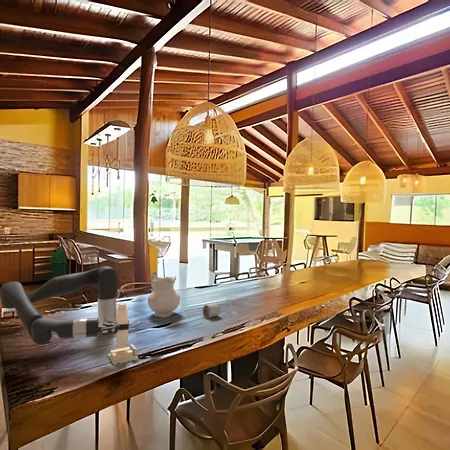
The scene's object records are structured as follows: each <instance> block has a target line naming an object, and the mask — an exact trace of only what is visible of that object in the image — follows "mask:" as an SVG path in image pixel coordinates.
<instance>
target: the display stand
mask: <svg viewBox="0 0 450 450" xmlns="http://www.w3.org/2000/svg"><path fill="white" fill-rule="evenodd" d="M108 356H109V357H108ZM107 357H108V359H109V360H110V359H111V360H110V362H111V361H112V362H111V364H112V365H113V364H116V365H118V364H117V363H120V364H124V363H123V362H125V363H128V361H129V362H132V360H134V361H139V357H138V355H137V347H136V346H135V345H134V344H133V343H131V344H129V346H128V347H126V348H116V349H112V350H110V351H109V353H107Z"/></svg>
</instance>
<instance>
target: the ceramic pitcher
mask: <svg viewBox="0 0 450 450" xmlns="http://www.w3.org/2000/svg"><path fill="white" fill-rule="evenodd" d="M176 280H177V275H175V276H174V277H173V276H165V277H158V274H157V271H153V272H151V275H150V286H151V289H152V292H150V294H149V295H148V297H147V305H148V307H149V309H150V310H151V311H152V312H154V313H153V316H155V317H159V318H163V319H164V318H169V317H171V316H172V315H174V311H175V310H177V309H178V307H179V305H180V304H181V303H180V302H181V295H180V294H179V292H177V291H176V290H175V289H174V287H175V286H174V285H175V282H176Z"/></svg>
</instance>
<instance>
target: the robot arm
mask: <svg viewBox="0 0 450 450" xmlns="http://www.w3.org/2000/svg"><path fill="white" fill-rule="evenodd" d="M118 279H119V277H118V272H117V270H116V269H114V268H113V267H111V266H108V265H102V266H100V267H99V266H98V267H97V268H93V269H91V270H87V271H81V272H76V273H70V274H69V273H68V274H65V275H59V276H55V277H52V278H51V279H49V280H47V282H45V283H44V284H43V285H41V286H40V287H39V288H37V289H35V290H33V291H30V292H27V293H26V291H25V289H24V286H23V285H22V284H21V283H20V282H19V281H8V282H5V283H3V285H1V287H0V303H1V306H2V307H3V309H6V310H13V309H14V310H15V312H16V314H17V317H18V319H19V320H20V321H21V323H22V324H23V325H24V327H25V328H26V331H28V335H29V337H30V339H31V341H32V342H33V343H35V344H36V345H40V346H41V345H42V346H43V345H47V344H48V343H49V342H50V341H51V340H52V338H53V337H52V336H53V332H54V333H55V334H56V335H57V336H58V338H59V339H72V338H74V339H75V338H77V339H81V338H93V337H95V338H96V337H98V336H99V334H100V333H101V334H102V335H103V336H106V335H111V334H116V333H117V332H118V331H119V330H128V331H129V330H130V324H129V323H130V321H129V320H130V319H128V324H120V326H119V325H116V309H117V308H118V303H117V293H118V285H119V280H118ZM97 284H99V285H98V289H99V290H98V293H97V317H89V318H78V319H68V320H63V319H56V318H51V317H44V316H42V314H41V313H40V312H39V311H38V309H37V308H36V307H35V305H34V303H37V302H41V301H44V300H47V299H48V300H49V299H51V298H52V299H53V298H55V297H60V296H65V295H68V294H69V295H70V294H72V293H74V292H77V291H79V290H81V289H83V288H85V287H87V286H88V287H89V286H92V285H97Z"/></svg>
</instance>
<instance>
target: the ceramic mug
mask: <svg viewBox="0 0 450 450" xmlns="http://www.w3.org/2000/svg"><path fill="white" fill-rule="evenodd" d="M202 314H203V317H204V318H206V319H211V318H215V317H217V316H220V314H221V309H220V306H219V304H216V303H211V304H210V303H209V304H205V305H203V307H202Z"/></svg>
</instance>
